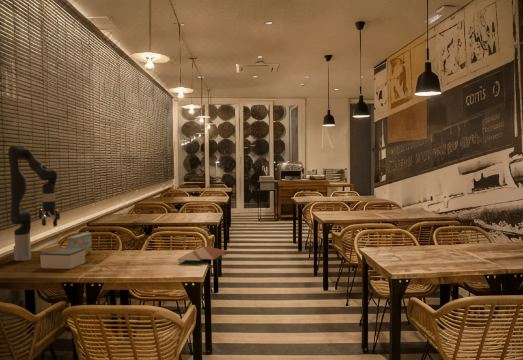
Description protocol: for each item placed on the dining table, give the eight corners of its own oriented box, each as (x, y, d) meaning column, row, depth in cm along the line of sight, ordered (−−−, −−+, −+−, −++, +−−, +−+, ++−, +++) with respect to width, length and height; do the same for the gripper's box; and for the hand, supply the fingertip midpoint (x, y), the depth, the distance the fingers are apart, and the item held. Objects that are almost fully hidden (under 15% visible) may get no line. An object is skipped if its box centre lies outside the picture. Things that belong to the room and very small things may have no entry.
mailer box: (40, 267, 285) (40, 255, 284) (56, 261, 301) (56, 249, 300) (70, 268, 281) (70, 255, 281) (85, 262, 297) (84, 250, 297)
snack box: (74, 260, 304) (73, 237, 303) (67, 260, 305) (66, 237, 304) (92, 253, 325) (92, 232, 324) (85, 253, 326) (84, 232, 325)
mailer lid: (40, 254, 284) (40, 248, 284) (56, 249, 300) (55, 243, 300) (70, 255, 281) (69, 248, 281) (84, 249, 297) (84, 243, 296)
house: (228, 254, 315) (228, 242, 314) (211, 266, 283) (211, 253, 282) (197, 253, 320) (196, 241, 320) (176, 264, 288) (176, 251, 288)
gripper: (35, 200, 291) (36, 226, 293) (53, 201, 287) (54, 227, 288) (44, 199, 299) (45, 224, 300) (62, 200, 294) (63, 225, 295)
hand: (49, 225), depth 294 cm, fingers open, 8 cm apart
